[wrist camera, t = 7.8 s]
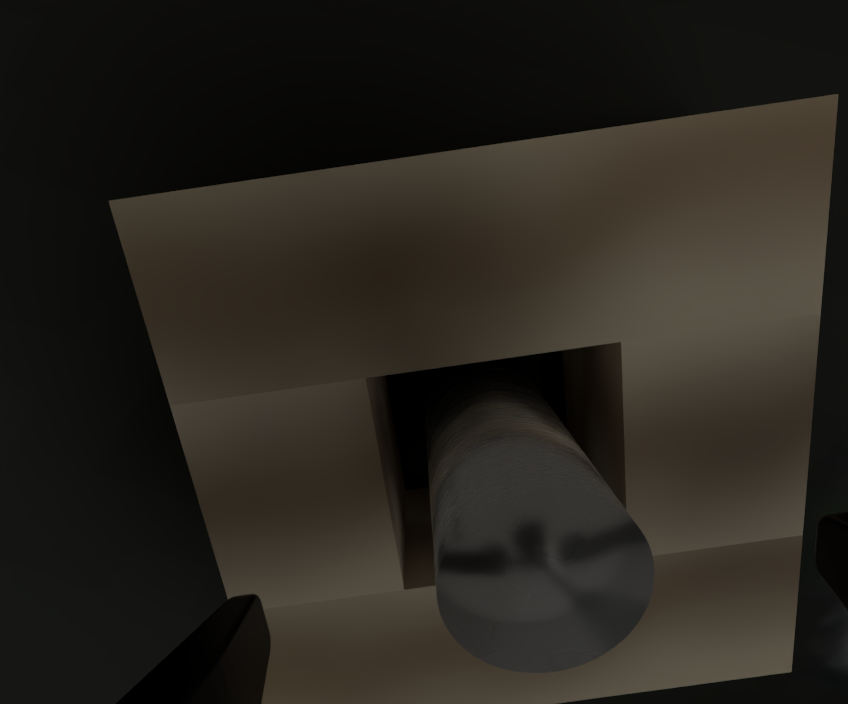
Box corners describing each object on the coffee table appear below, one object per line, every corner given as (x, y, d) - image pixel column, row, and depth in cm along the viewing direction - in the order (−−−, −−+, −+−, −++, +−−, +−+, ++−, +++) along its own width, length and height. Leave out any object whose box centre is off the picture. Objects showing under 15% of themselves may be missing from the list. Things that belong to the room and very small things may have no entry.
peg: (537, 444, 16) (656, 659, 8) (431, 459, 16) (450, 685, 8) (528, 342, 15) (653, 474, 7) (416, 358, 15) (422, 506, 7)
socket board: (695, 557, 17) (791, 671, 13) (305, 611, 17) (270, 741, 13) (700, 133, 14) (838, 94, 9) (204, 206, 14) (109, 201, 9)
